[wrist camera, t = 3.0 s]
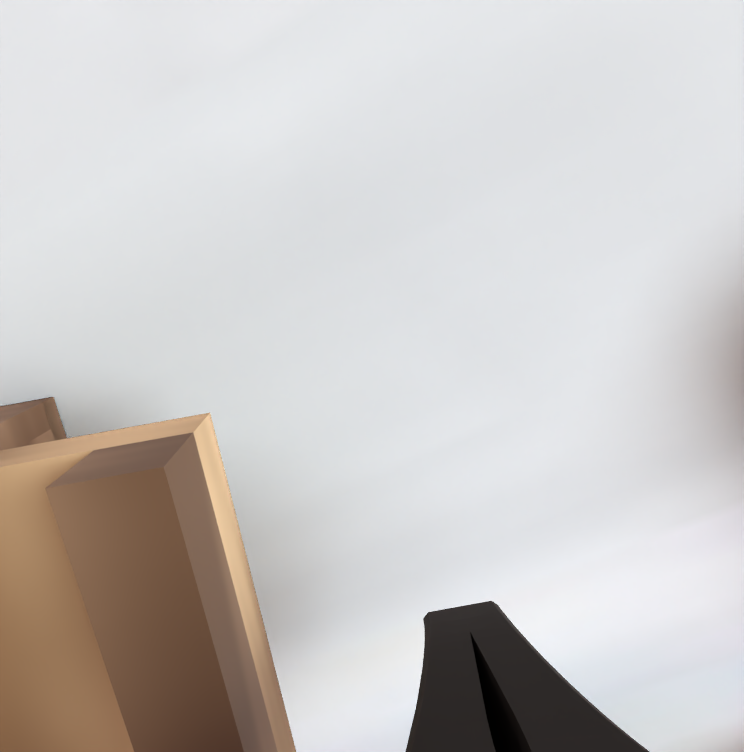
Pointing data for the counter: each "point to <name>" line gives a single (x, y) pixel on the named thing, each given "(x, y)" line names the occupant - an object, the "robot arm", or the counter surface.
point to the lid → (130, 600)
